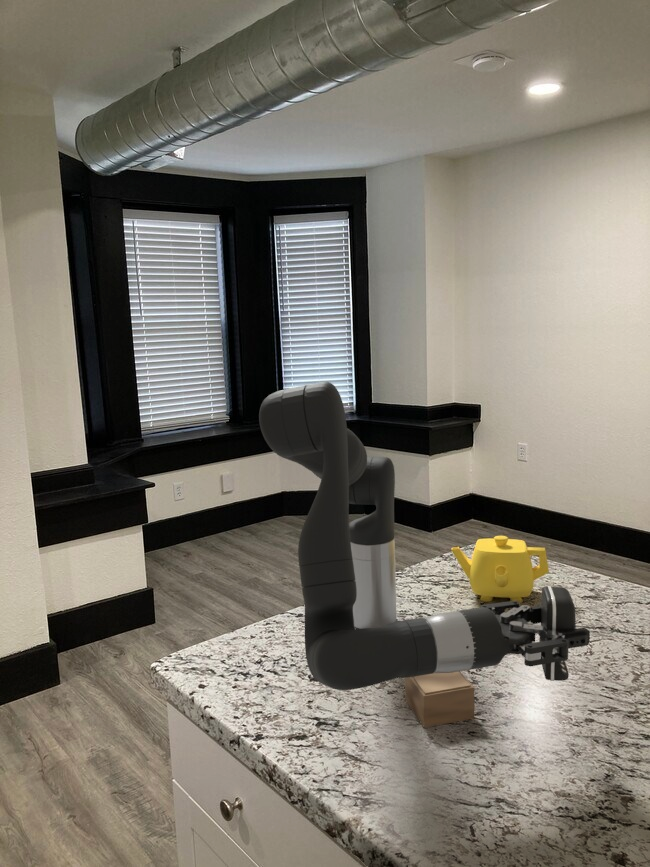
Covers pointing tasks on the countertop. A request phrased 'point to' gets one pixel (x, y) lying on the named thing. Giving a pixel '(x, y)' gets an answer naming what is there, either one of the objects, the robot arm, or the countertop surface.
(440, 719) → the wooden box
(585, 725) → the countertop surface
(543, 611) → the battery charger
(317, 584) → the robot arm
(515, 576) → the teapot
